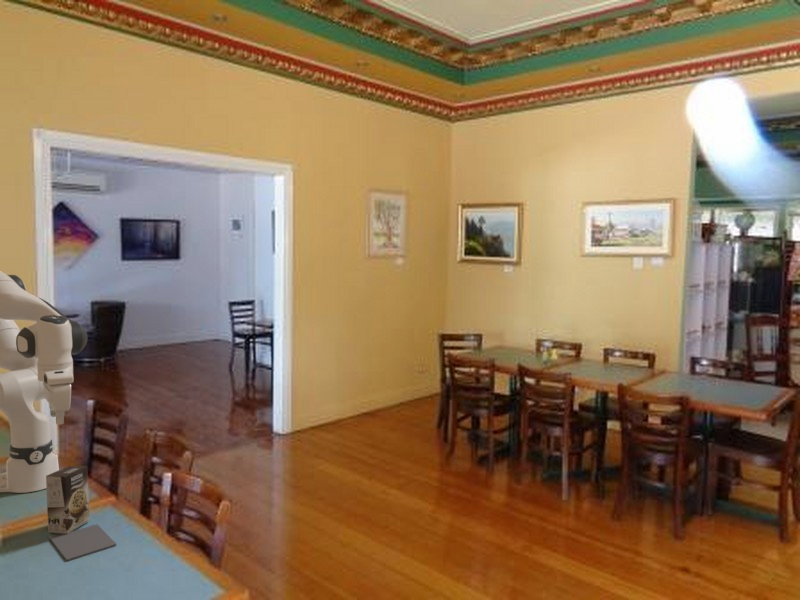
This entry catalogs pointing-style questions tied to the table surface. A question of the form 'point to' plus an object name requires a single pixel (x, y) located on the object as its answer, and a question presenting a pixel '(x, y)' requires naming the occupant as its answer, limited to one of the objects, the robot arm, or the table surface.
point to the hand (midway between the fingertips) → (57, 420)
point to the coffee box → (67, 499)
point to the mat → (82, 542)
